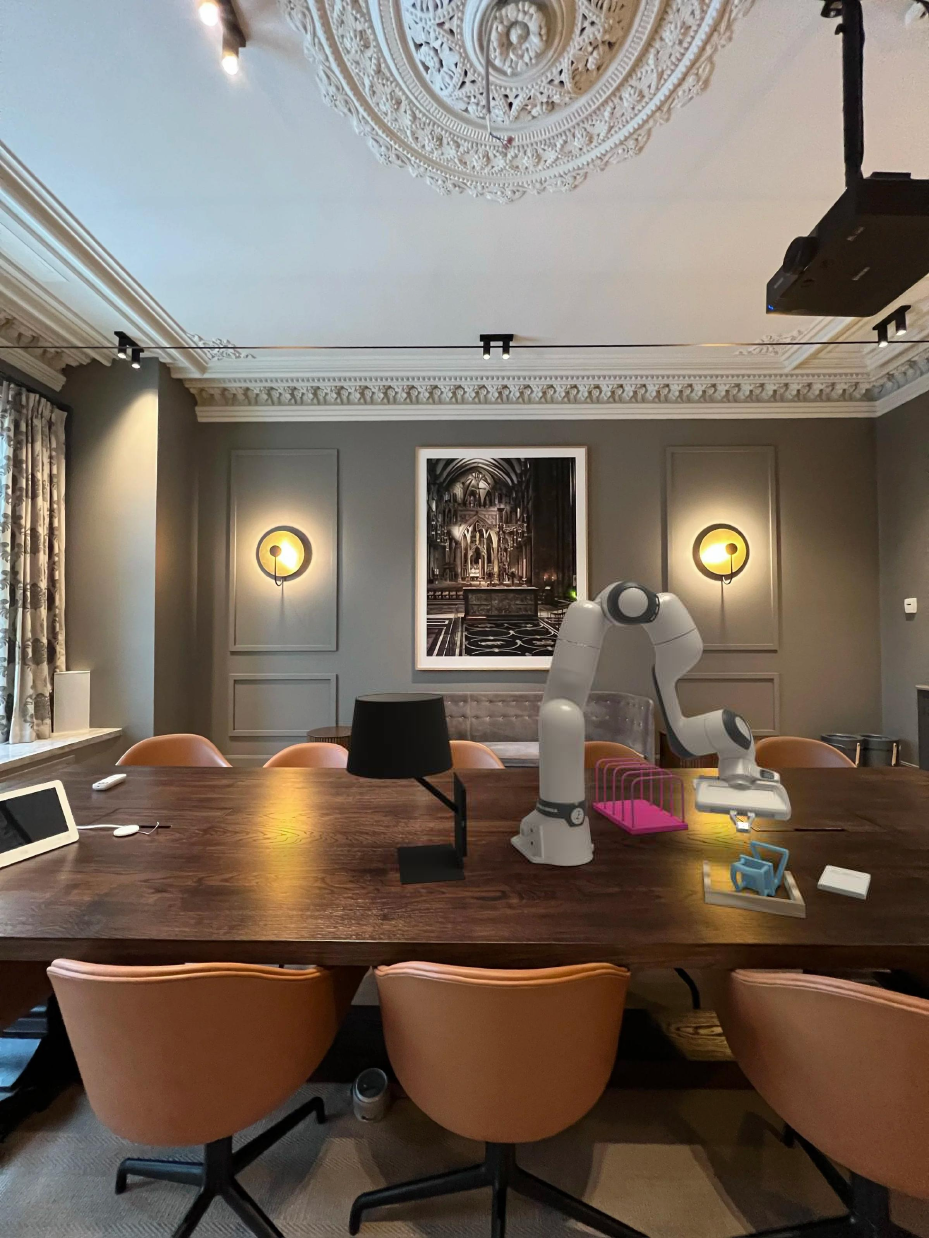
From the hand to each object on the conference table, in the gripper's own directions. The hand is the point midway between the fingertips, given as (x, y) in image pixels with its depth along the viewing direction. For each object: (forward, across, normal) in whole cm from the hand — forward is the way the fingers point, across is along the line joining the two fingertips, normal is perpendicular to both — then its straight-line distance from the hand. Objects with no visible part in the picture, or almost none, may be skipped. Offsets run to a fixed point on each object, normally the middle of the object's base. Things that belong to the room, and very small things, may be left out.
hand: (743, 831), depth 125 cm
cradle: (+14, 0, 0) cm, 14 cm away
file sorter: (-16, -26, +30) cm, 43 cm away
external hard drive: (+6, +20, +9) cm, 22 cm away
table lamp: (+22, -74, -9) cm, 78 cm away
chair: (+6, +5, +2) cm, 8 cm away
